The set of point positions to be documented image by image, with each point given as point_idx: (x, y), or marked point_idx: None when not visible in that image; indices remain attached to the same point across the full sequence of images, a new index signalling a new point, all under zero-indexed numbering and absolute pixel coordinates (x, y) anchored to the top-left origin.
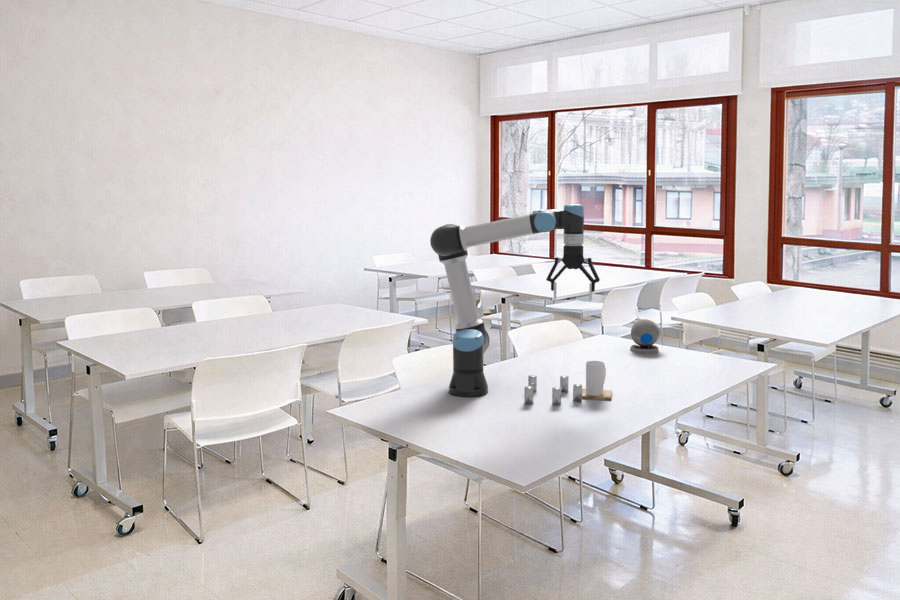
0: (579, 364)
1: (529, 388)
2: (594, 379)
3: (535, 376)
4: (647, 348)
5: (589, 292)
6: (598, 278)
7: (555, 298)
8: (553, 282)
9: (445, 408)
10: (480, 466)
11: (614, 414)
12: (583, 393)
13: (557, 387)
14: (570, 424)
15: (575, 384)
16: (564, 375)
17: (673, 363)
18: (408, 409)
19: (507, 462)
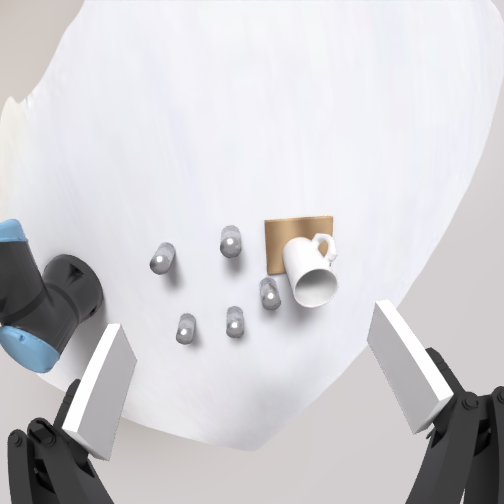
0: None
1: (187, 343)
2: (307, 287)
3: (166, 267)
4: None
5: (389, 380)
6: (485, 436)
7: (134, 366)
8: (83, 452)
9: None
10: (215, 444)
11: (330, 328)
12: (276, 255)
13: (235, 327)
14: (271, 375)
15: (266, 301)
16: (228, 239)
17: None
18: (69, 363)
19: (232, 439)
